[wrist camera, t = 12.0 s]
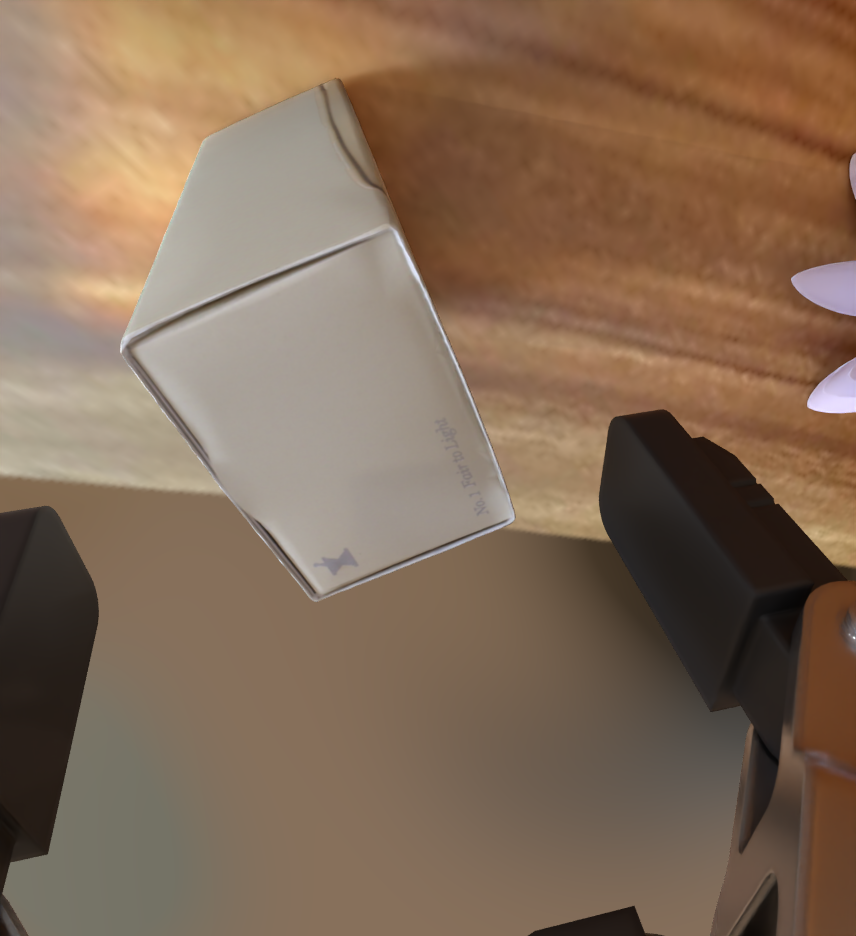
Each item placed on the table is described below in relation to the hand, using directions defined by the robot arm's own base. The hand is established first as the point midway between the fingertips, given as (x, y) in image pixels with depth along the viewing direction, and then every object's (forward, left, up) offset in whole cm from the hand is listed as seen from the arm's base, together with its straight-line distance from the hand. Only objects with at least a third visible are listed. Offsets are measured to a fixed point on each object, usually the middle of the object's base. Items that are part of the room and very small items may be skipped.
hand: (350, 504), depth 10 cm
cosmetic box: (0, 0, -13) cm, 13 cm away
